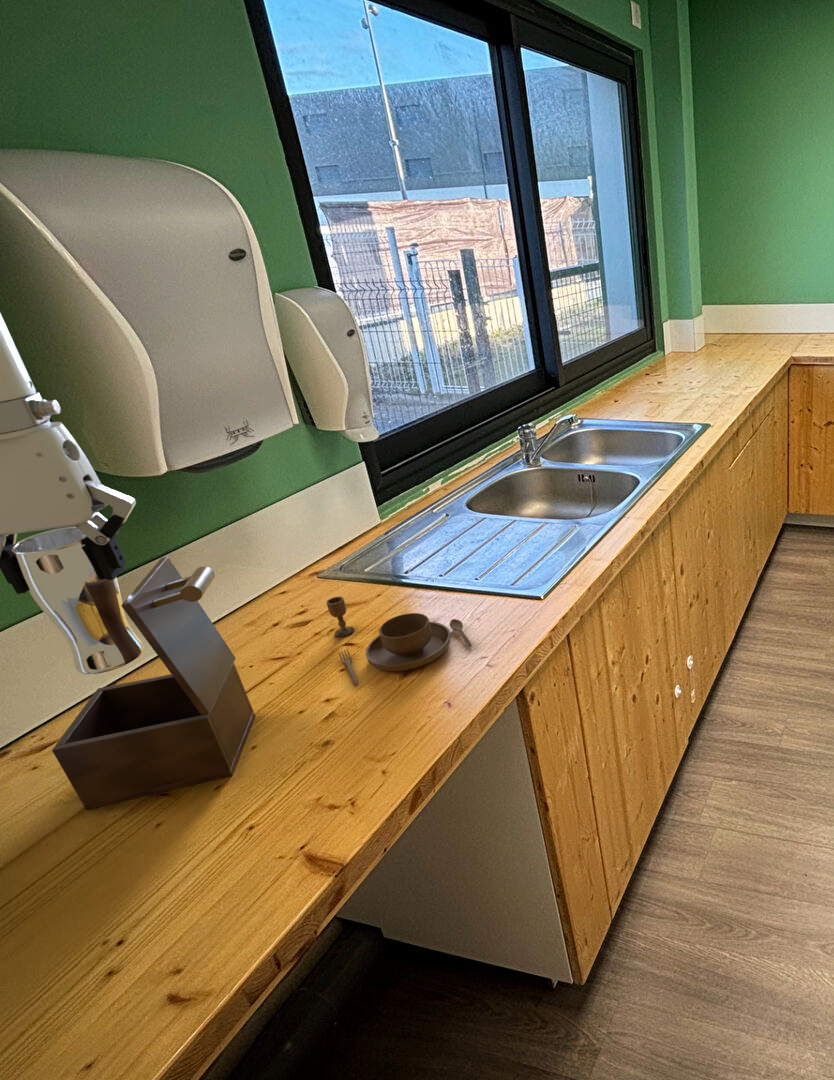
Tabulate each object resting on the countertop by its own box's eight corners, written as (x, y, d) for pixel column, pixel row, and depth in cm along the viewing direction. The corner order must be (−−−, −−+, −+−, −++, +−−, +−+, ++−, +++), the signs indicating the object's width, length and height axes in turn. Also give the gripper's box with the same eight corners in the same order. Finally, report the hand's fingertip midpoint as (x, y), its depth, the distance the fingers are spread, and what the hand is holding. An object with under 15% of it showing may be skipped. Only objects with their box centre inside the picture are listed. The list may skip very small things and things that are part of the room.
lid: (120, 605, 72) (179, 587, 73) (160, 558, 82) (211, 543, 83) (201, 715, 79) (254, 697, 80) (229, 660, 89) (275, 644, 90)
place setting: (355, 694, 97) (344, 659, 94) (329, 632, 112) (319, 600, 109) (479, 649, 106) (472, 616, 103) (440, 597, 121) (433, 567, 118)
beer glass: (71, 657, 79) (10, 538, 73) (147, 634, 83) (95, 519, 77) (71, 685, 74) (4, 560, 68) (151, 659, 78) (95, 539, 72)
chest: (85, 810, 79) (51, 750, 75) (126, 743, 89) (97, 688, 85) (232, 775, 83) (206, 717, 80) (255, 716, 93) (233, 661, 90)
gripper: (117, 399, 73) (179, 552, 80) (-96, 419, 68) (-8, 580, 75) (84, 417, 66) (155, 581, 74) (-154, 440, 61) (-51, 614, 69)
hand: (72, 579), depth 74 cm, fingers closed on beer glass, 7 cm apart
